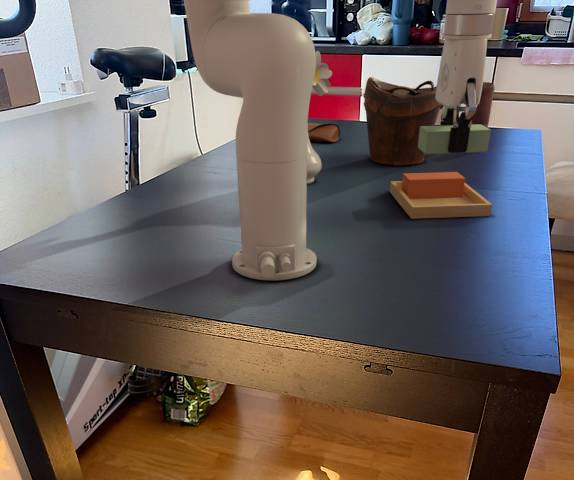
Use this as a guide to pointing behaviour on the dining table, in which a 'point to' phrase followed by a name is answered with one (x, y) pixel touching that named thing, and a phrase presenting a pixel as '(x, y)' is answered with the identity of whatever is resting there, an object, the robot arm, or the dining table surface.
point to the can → (484, 105)
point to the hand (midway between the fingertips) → (452, 147)
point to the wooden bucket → (398, 120)
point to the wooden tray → (442, 204)
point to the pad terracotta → (433, 185)
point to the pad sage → (438, 139)
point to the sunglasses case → (323, 132)
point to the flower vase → (312, 157)
